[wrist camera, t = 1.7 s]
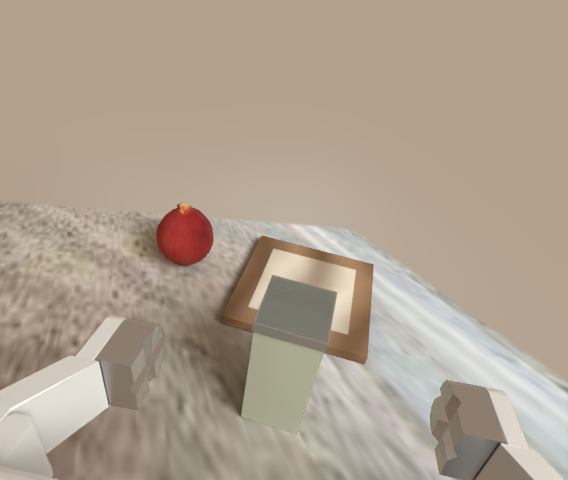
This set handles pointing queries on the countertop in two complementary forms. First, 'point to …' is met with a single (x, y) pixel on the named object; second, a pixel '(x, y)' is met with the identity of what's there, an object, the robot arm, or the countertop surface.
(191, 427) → the countertop surface
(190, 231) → the onion
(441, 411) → the robot arm
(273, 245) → the board
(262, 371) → the tea tin
